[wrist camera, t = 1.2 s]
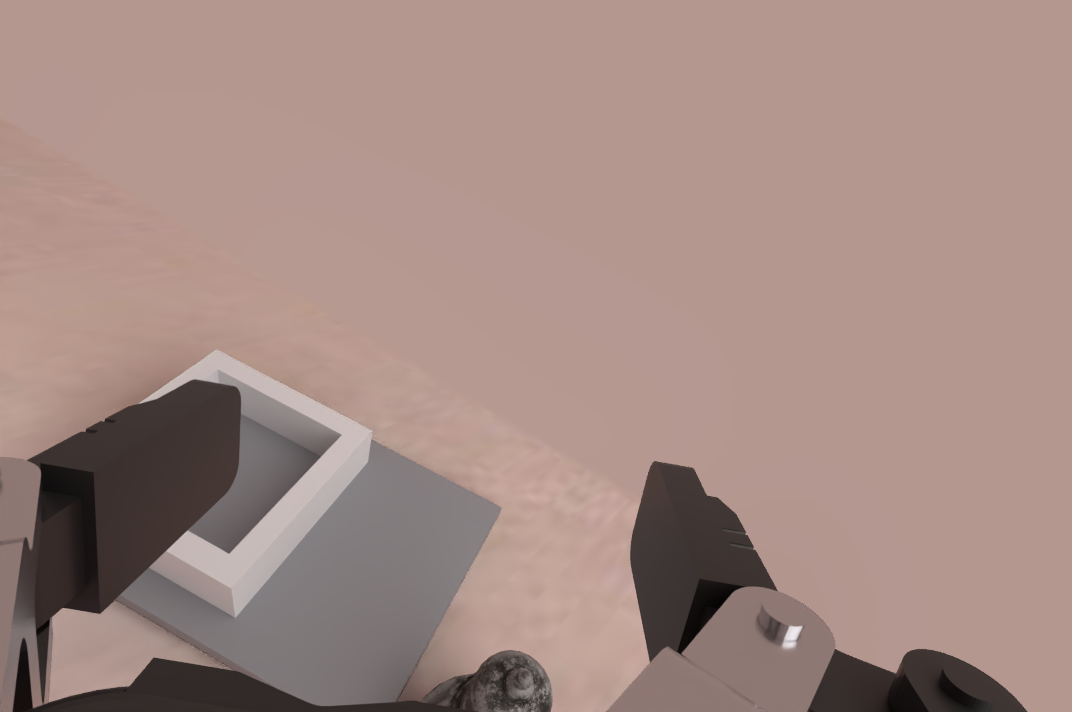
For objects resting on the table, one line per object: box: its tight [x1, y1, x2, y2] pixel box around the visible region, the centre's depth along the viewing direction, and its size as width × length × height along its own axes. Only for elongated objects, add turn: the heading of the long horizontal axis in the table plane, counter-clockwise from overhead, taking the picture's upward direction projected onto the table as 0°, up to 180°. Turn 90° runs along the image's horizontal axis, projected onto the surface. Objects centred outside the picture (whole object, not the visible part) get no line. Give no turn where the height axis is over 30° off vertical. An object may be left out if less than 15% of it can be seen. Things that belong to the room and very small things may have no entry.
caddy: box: [116, 349, 501, 706], centre depth 32 cm, size 20×14×4 cm
